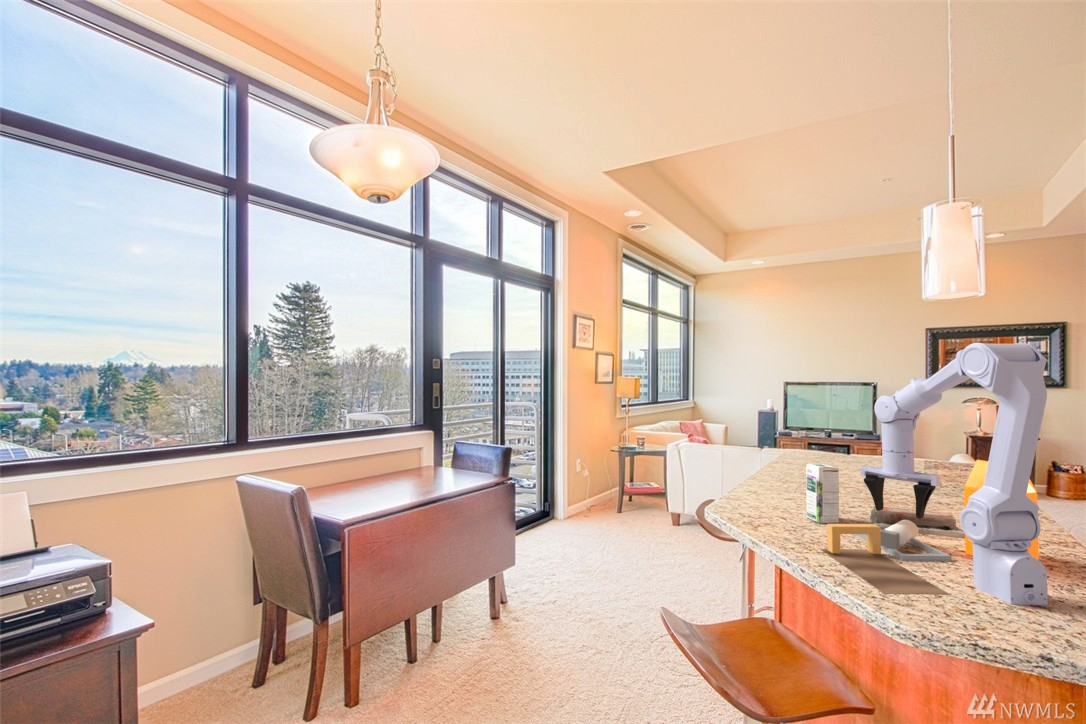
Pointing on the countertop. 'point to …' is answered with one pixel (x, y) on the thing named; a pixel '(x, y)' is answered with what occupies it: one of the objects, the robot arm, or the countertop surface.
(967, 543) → the orange juice
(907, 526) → the white cylinder grey cap
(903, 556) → the tray
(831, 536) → the yellow bridge block
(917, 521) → the packaged product
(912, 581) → the board
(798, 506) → the countertop surface
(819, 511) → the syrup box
